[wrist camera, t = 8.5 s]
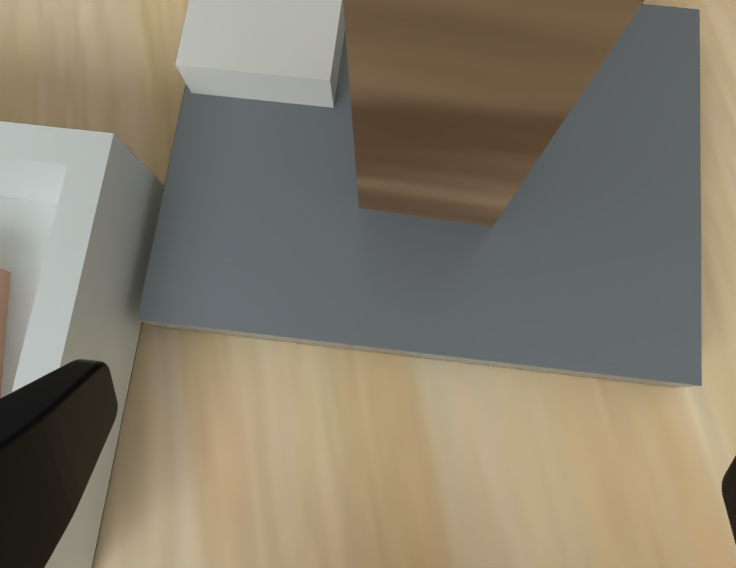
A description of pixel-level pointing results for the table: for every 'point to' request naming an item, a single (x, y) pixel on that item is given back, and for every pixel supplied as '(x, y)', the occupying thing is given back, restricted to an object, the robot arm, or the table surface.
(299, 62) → the tile on board
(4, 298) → the tile in box
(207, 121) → the slate board
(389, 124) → the walnut handle
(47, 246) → the box
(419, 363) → the table surface
